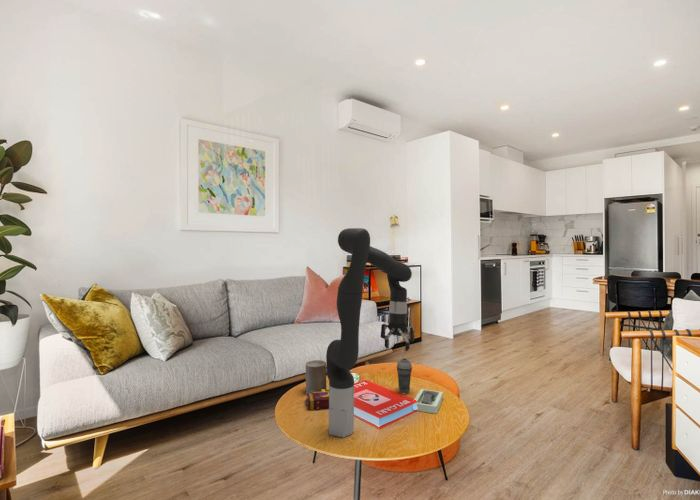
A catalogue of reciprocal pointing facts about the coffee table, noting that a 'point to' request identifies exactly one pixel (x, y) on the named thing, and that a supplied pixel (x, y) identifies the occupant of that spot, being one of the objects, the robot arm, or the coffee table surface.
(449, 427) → the coffee table surface
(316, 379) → the pillar candle
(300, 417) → the coffee table surface
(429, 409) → the mint green tray
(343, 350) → the robot arm
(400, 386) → the beverage cup
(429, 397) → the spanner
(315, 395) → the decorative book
